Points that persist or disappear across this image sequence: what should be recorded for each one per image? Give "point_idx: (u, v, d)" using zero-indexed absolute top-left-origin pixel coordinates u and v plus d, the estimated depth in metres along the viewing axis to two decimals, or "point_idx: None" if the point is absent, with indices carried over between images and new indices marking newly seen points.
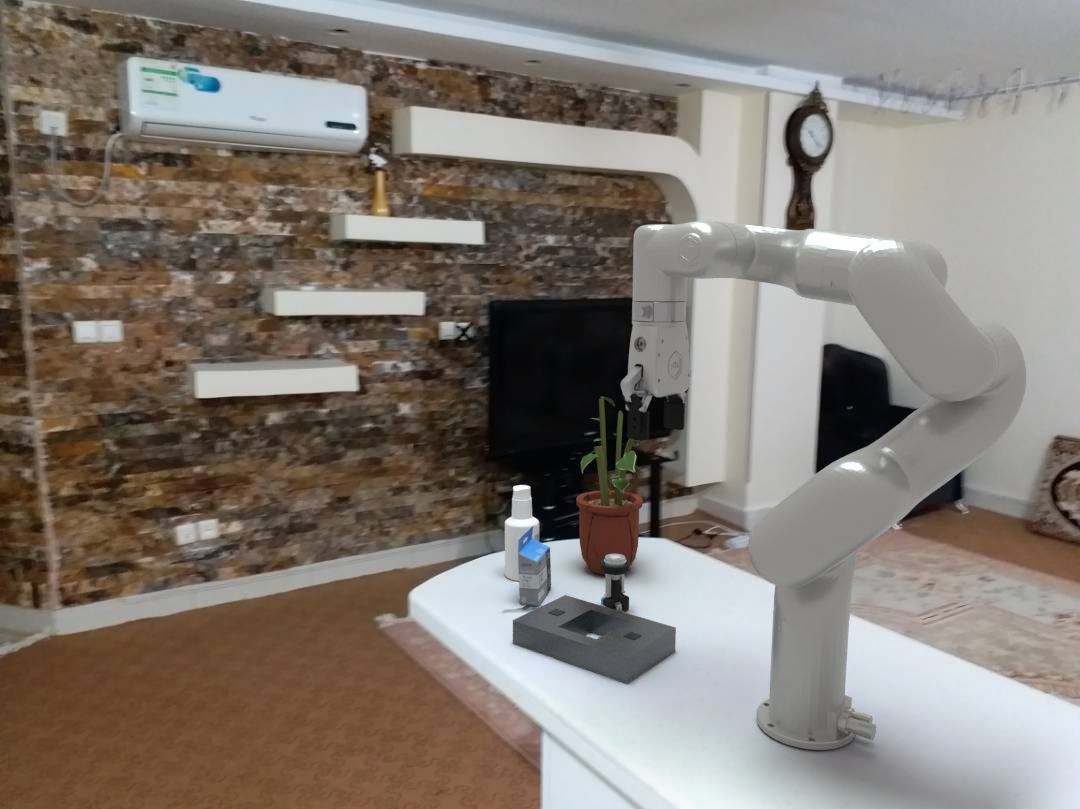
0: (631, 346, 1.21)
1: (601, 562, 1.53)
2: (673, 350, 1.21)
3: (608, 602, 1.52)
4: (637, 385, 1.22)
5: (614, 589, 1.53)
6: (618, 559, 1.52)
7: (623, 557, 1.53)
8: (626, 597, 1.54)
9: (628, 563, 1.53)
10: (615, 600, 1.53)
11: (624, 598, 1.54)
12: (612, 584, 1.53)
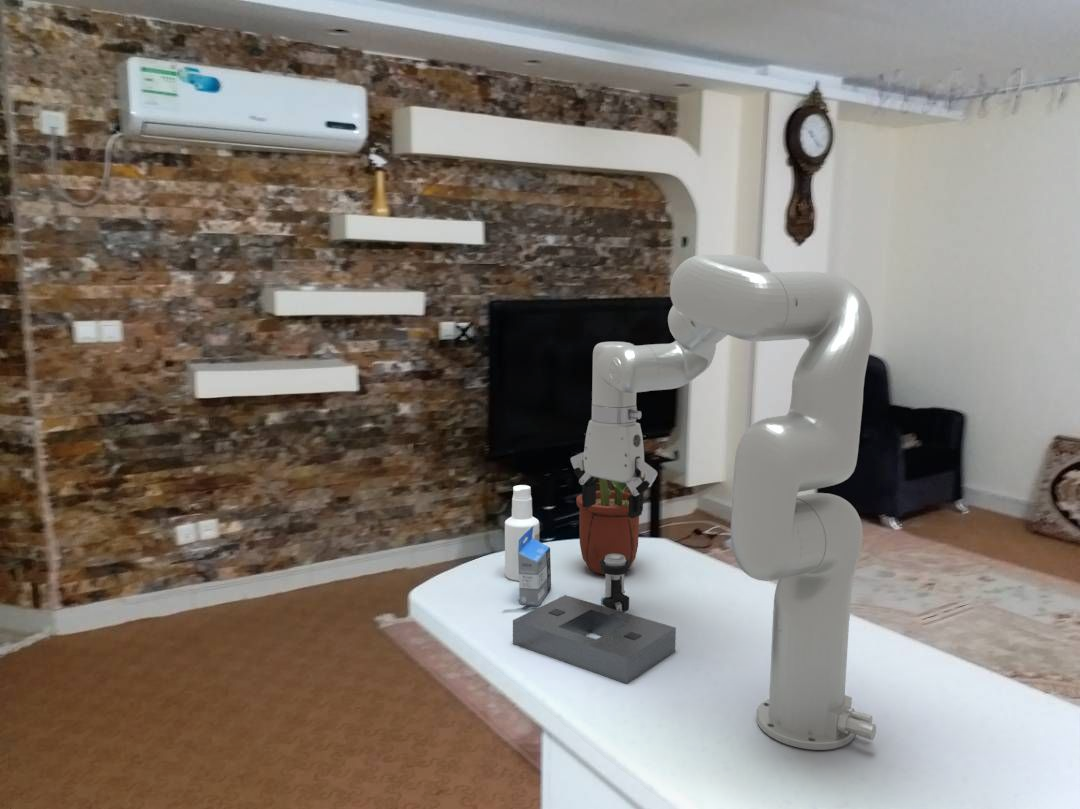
0: (631, 444, 1.46)
1: (601, 562, 1.53)
2: None
3: (608, 602, 1.52)
4: None
5: (614, 589, 1.53)
6: (617, 559, 1.52)
7: (623, 557, 1.53)
8: (626, 597, 1.54)
9: (628, 563, 1.53)
10: (615, 600, 1.53)
11: (624, 598, 1.54)
12: (612, 584, 1.53)
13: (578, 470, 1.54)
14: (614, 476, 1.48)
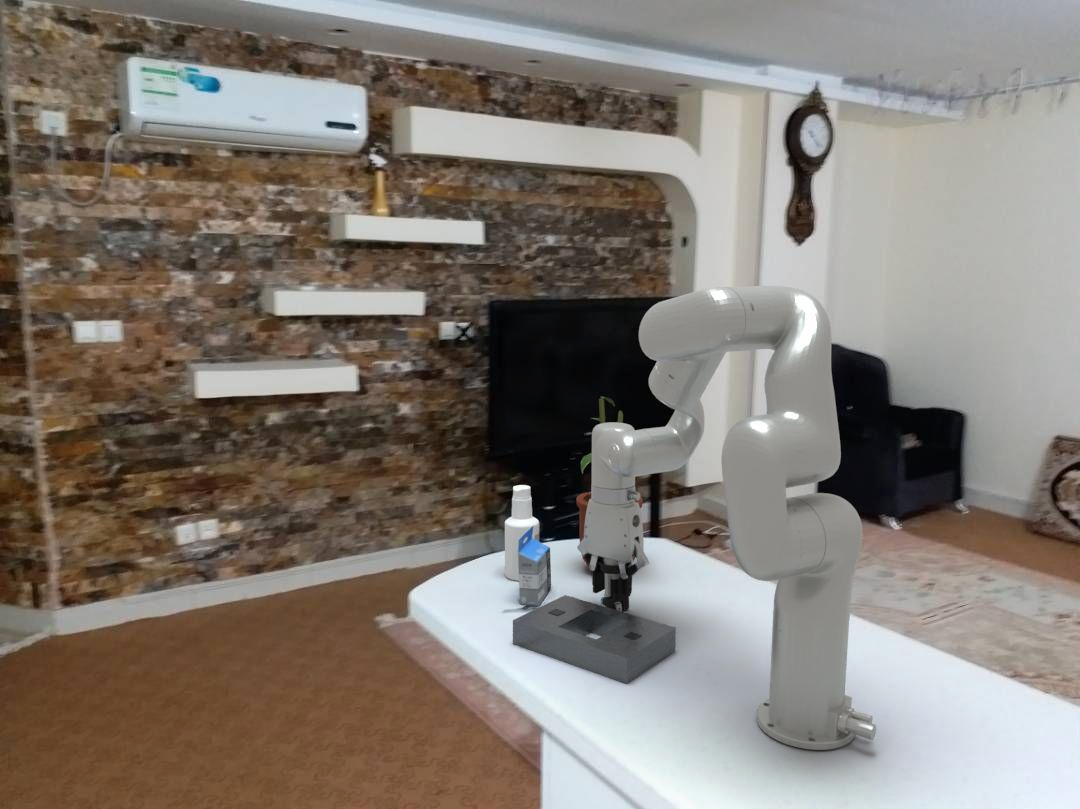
0: (630, 525, 1.48)
1: (600, 562, 1.54)
2: None
3: (608, 602, 1.52)
4: None
5: (614, 588, 1.53)
6: None
7: None
8: None
9: None
10: (615, 599, 1.53)
11: None
12: (611, 583, 1.53)
13: (588, 556, 1.55)
14: (614, 556, 1.50)
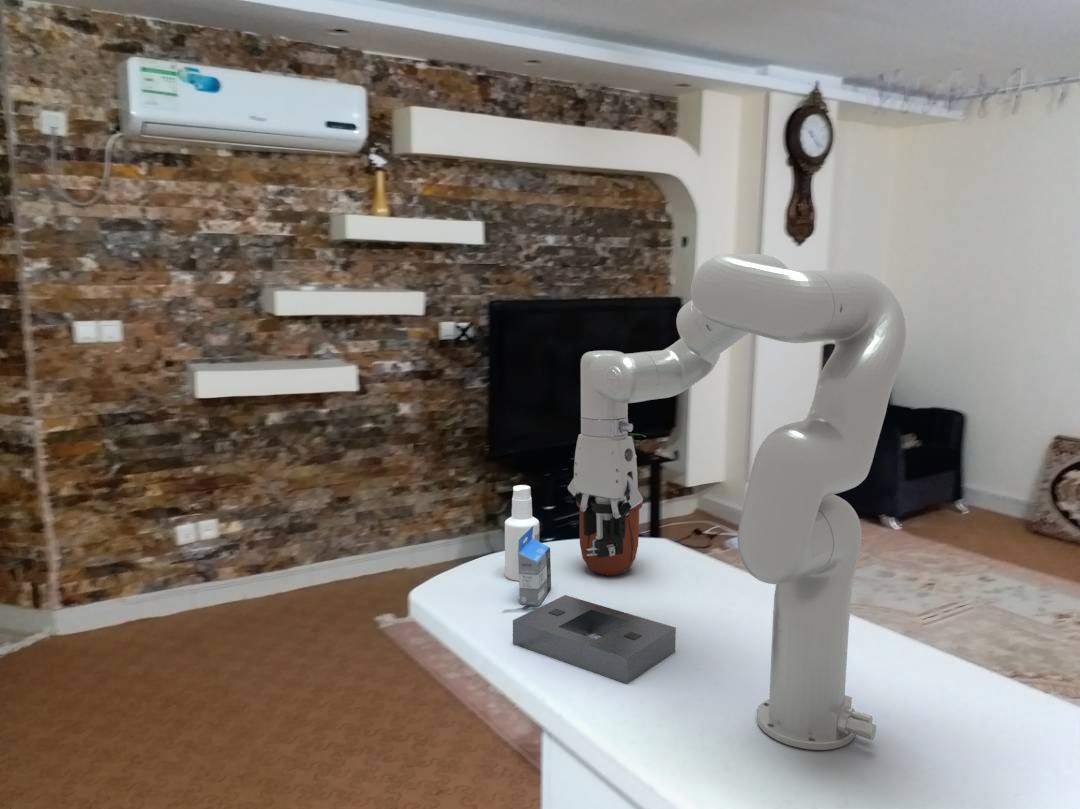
0: (622, 458, 1.37)
1: (591, 501, 1.43)
2: None
3: (600, 544, 1.42)
4: None
5: (606, 530, 1.42)
6: None
7: None
8: None
9: None
10: (607, 542, 1.43)
11: None
12: (604, 525, 1.43)
13: (579, 496, 1.45)
14: (605, 493, 1.39)
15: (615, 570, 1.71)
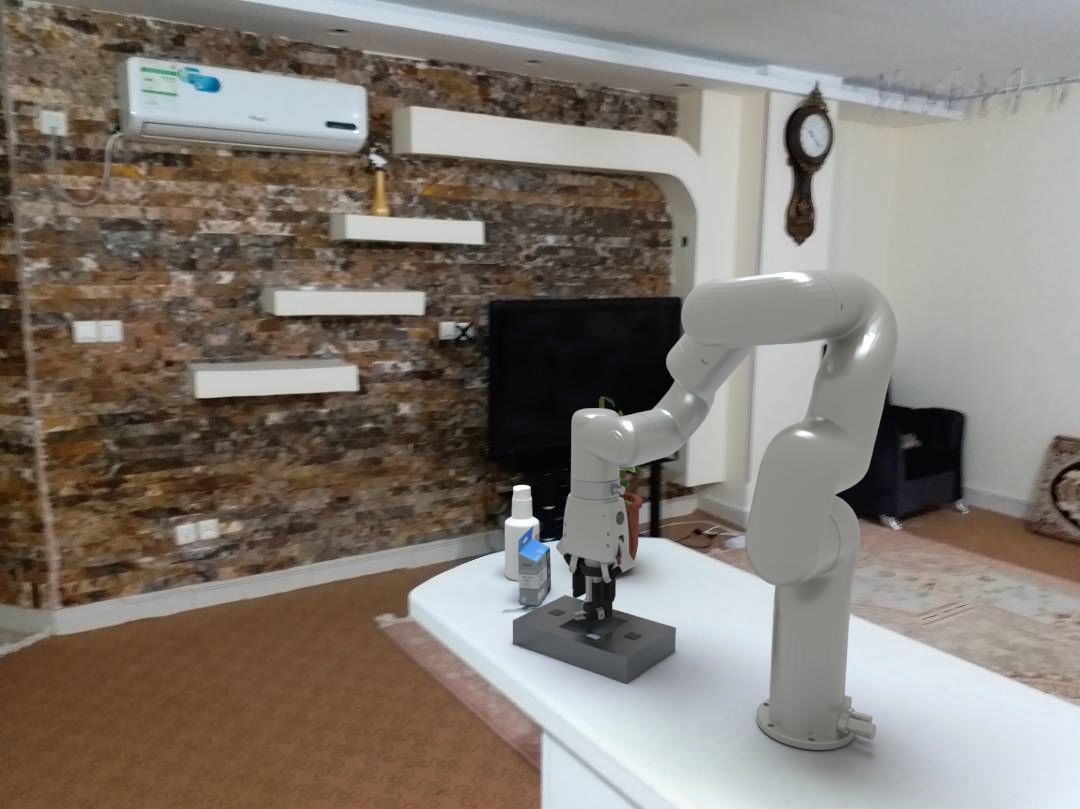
0: (613, 522, 1.33)
1: (581, 563, 1.38)
2: None
3: (589, 607, 1.37)
4: None
5: (596, 593, 1.38)
6: None
7: None
8: None
9: None
10: (597, 605, 1.38)
11: None
12: (593, 587, 1.38)
13: (568, 556, 1.40)
14: (595, 556, 1.35)
15: None
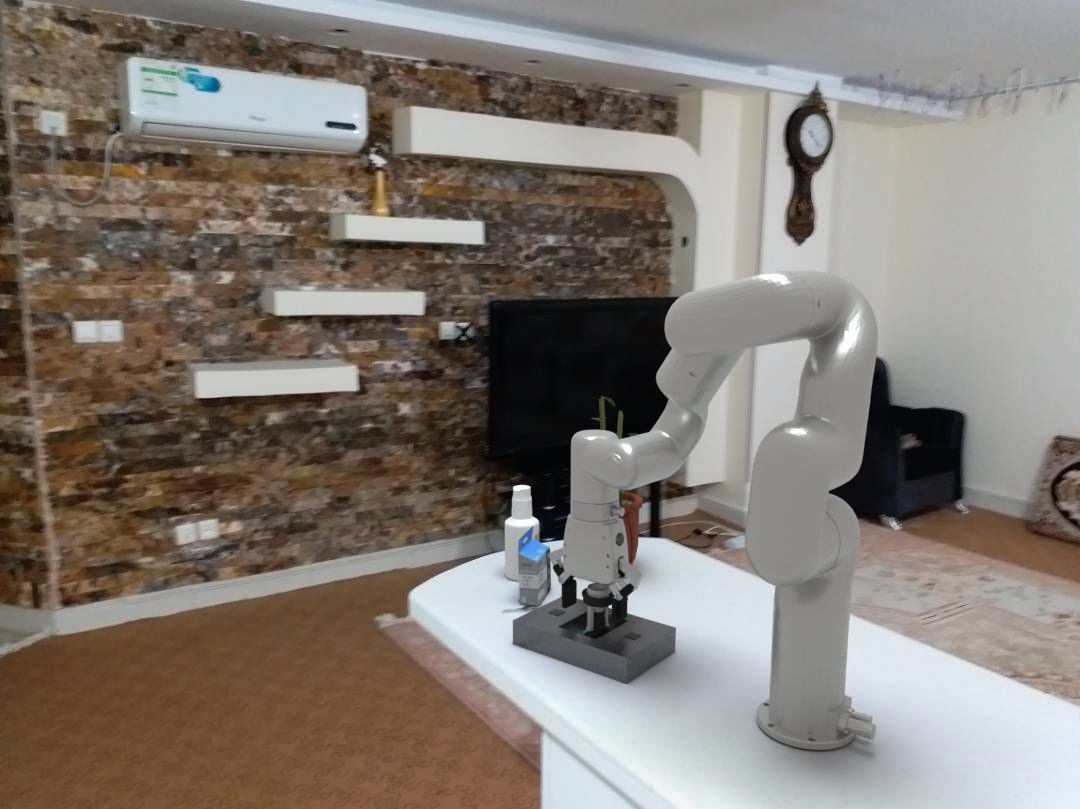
0: (613, 544, 1.33)
1: (583, 592, 1.39)
2: None
3: None
4: None
5: (597, 622, 1.39)
6: (601, 589, 1.38)
7: (607, 587, 1.39)
8: None
9: (613, 594, 1.39)
10: (598, 634, 1.39)
11: (608, 632, 1.40)
12: (595, 617, 1.39)
13: (557, 567, 1.42)
14: (595, 577, 1.35)
15: None
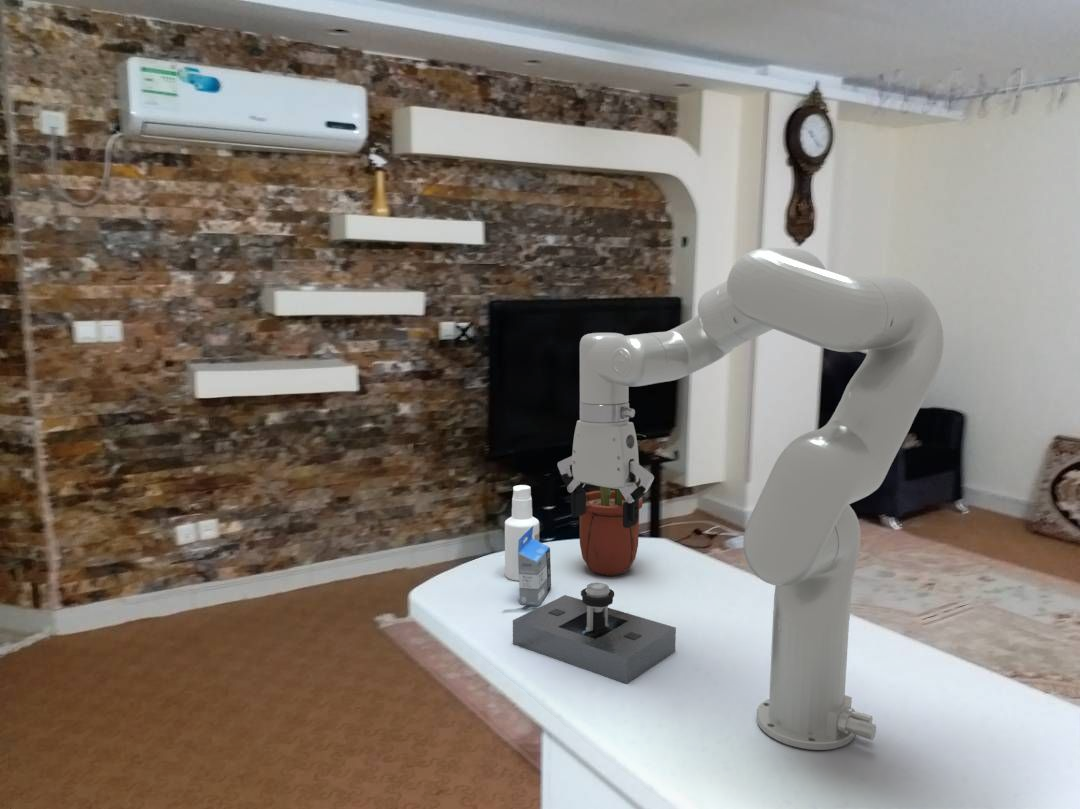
0: (623, 445, 1.31)
1: (582, 592, 1.39)
2: None
3: None
4: None
5: (597, 622, 1.39)
6: (600, 589, 1.38)
7: (606, 587, 1.39)
8: None
9: (612, 593, 1.39)
10: (598, 634, 1.39)
11: (608, 632, 1.40)
12: (594, 617, 1.39)
13: (566, 476, 1.40)
14: (606, 481, 1.33)
15: (615, 570, 1.71)
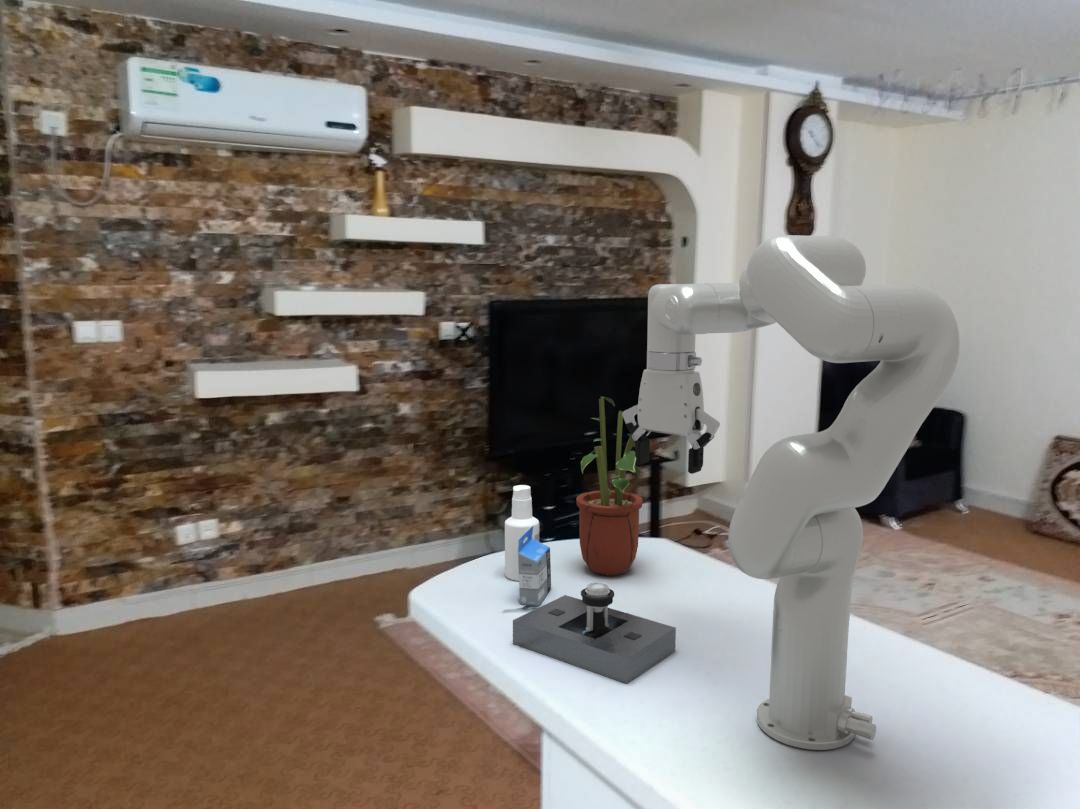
0: (691, 392, 1.35)
1: (582, 592, 1.39)
2: None
3: None
4: None
5: (597, 622, 1.39)
6: (600, 589, 1.38)
7: (606, 587, 1.39)
8: None
9: (612, 593, 1.39)
10: (598, 634, 1.39)
11: (608, 632, 1.40)
12: (594, 617, 1.39)
13: (631, 425, 1.44)
14: (672, 428, 1.37)
15: (615, 570, 1.71)
